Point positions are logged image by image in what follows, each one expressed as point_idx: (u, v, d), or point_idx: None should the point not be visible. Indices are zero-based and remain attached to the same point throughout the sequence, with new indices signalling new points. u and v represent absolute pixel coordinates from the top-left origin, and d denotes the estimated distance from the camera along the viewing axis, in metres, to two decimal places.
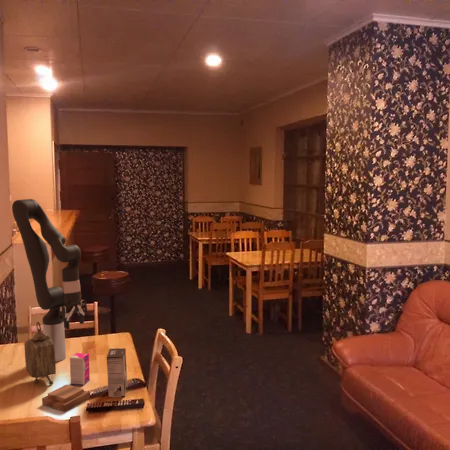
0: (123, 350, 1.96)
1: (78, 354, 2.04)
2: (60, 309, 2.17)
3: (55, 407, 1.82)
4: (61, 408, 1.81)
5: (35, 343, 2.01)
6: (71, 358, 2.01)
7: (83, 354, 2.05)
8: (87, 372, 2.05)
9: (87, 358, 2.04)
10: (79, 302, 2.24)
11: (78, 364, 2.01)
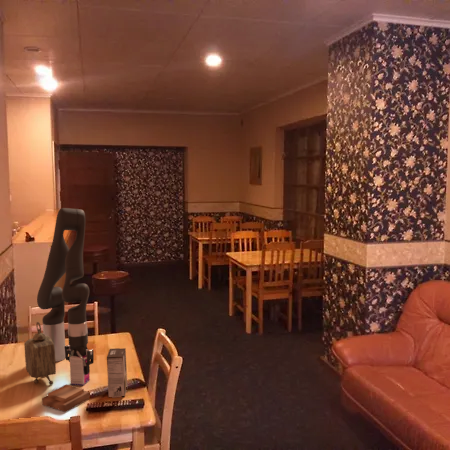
0: (123, 350, 1.96)
1: None
2: (90, 353, 2.00)
3: (55, 407, 1.82)
4: (61, 408, 1.81)
5: (35, 343, 2.01)
6: (70, 358, 2.01)
7: None
8: None
9: None
10: None
11: (78, 364, 2.01)
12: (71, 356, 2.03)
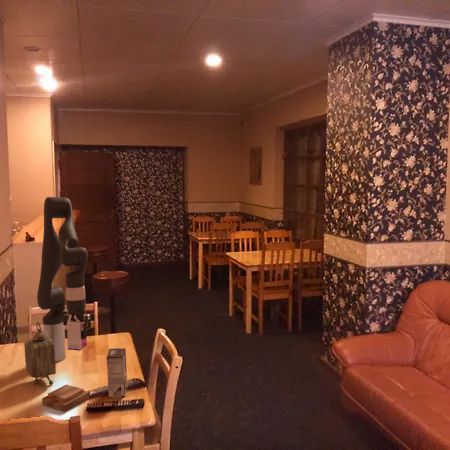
0: (123, 350, 1.96)
1: None
2: (88, 317, 1.98)
3: (55, 407, 1.82)
4: (61, 408, 1.81)
5: (35, 343, 2.01)
6: (68, 322, 1.99)
7: None
8: None
9: None
10: None
11: (75, 329, 1.99)
12: None
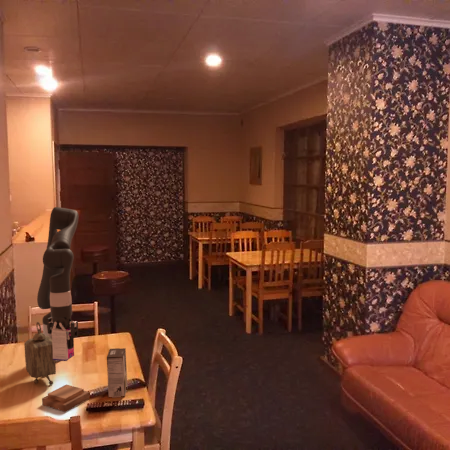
0: (123, 350, 1.96)
1: None
2: (74, 325, 1.81)
3: (55, 407, 1.82)
4: (61, 408, 1.81)
5: (35, 343, 2.01)
6: (53, 330, 1.83)
7: None
8: None
9: None
10: None
11: (61, 337, 1.82)
12: None
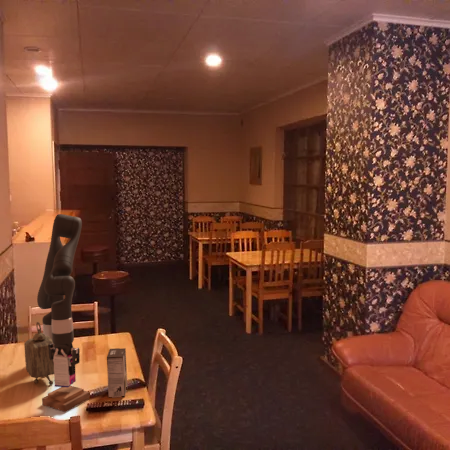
0: (123, 350, 1.96)
1: None
2: (76, 352, 1.82)
3: (55, 407, 1.82)
4: (61, 408, 1.81)
5: (35, 343, 2.01)
6: (54, 357, 1.84)
7: None
8: None
9: None
10: None
11: (62, 364, 1.83)
12: (55, 355, 1.86)
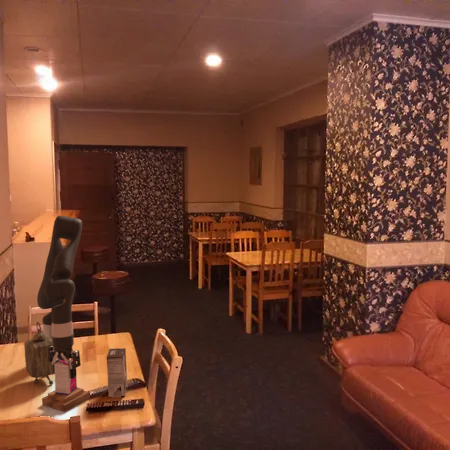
0: (123, 350, 1.96)
1: None
2: (76, 354, 1.82)
3: (55, 407, 1.82)
4: (61, 408, 1.81)
5: (35, 343, 2.01)
6: (55, 364, 1.84)
7: None
8: (74, 380, 1.87)
9: None
10: None
11: (63, 371, 1.83)
12: (55, 358, 1.86)
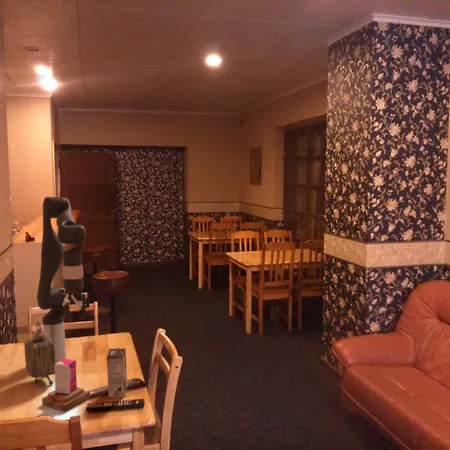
0: (123, 350, 1.96)
1: (64, 360, 1.87)
2: (85, 296, 1.92)
3: (55, 407, 1.82)
4: (61, 408, 1.81)
5: (35, 343, 2.01)
6: (55, 364, 1.84)
7: (69, 360, 1.87)
8: (74, 380, 1.87)
9: (74, 365, 1.87)
10: None
11: (63, 371, 1.83)
12: (65, 300, 1.96)
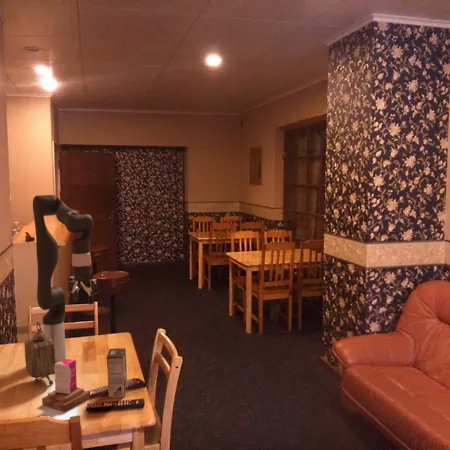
0: (123, 350, 1.96)
1: (64, 360, 1.87)
2: (94, 282, 2.00)
3: (55, 407, 1.82)
4: (61, 408, 1.81)
5: (35, 343, 2.01)
6: (55, 364, 1.84)
7: (69, 360, 1.87)
8: (74, 380, 1.87)
9: (74, 365, 1.87)
10: None
11: (63, 371, 1.83)
12: (74, 287, 2.04)
